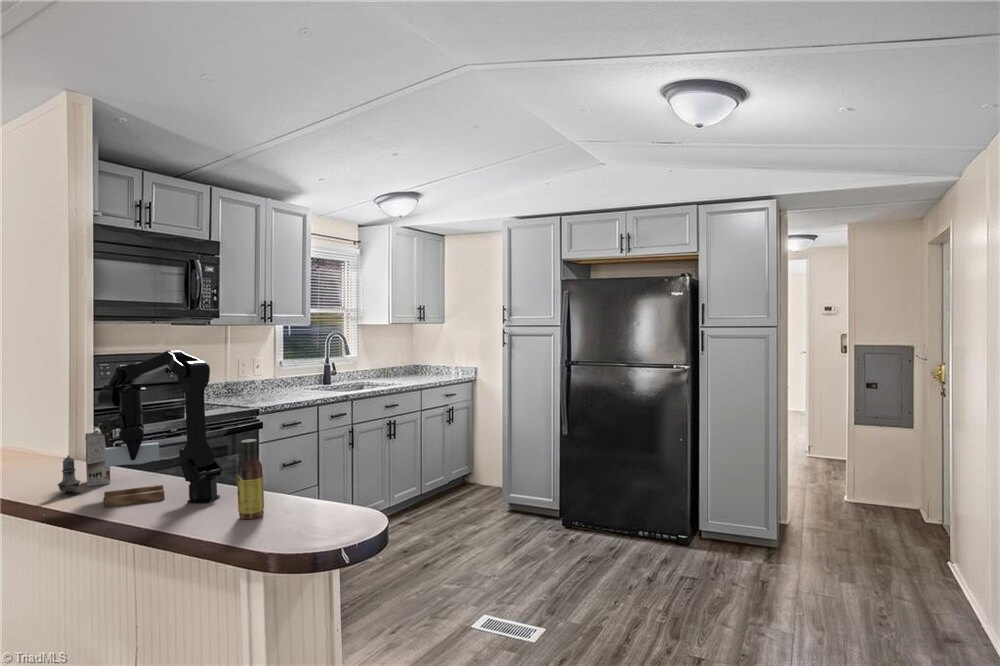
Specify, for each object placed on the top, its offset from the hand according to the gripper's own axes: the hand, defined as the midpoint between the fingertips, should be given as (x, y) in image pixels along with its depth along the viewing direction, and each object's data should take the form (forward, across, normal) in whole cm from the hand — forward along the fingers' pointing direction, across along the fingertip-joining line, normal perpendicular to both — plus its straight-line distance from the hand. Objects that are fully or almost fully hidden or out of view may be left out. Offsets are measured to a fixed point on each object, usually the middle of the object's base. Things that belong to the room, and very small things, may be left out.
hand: (133, 458), depth 194 cm
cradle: (+11, +9, 0) cm, 14 cm away
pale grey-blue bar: (+1, 0, 0) cm, 1 cm away
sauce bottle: (+12, +46, +27) cm, 55 cm away
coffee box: (+10, -24, -10) cm, 28 cm away
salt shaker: (+10, -10, -17) cm, 23 cm away
